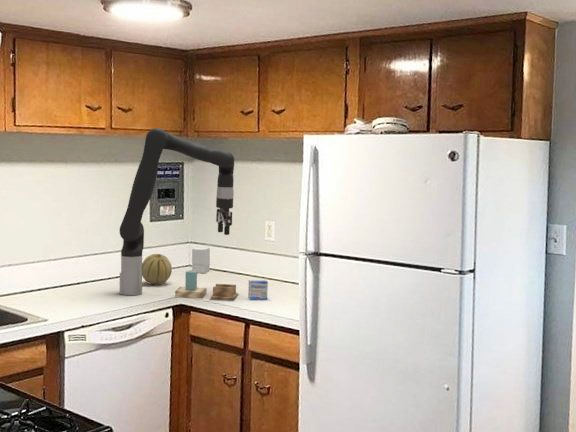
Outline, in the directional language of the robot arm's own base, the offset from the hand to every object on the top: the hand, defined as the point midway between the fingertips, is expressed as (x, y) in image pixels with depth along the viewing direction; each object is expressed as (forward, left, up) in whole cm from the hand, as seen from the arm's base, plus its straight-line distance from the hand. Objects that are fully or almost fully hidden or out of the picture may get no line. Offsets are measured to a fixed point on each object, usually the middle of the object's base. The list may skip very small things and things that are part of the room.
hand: (223, 233), depth 339 cm
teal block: (-13, -4, -25) cm, 29 cm away
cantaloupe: (-35, +20, -28) cm, 49 cm away
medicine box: (+17, -5, -28) cm, 33 cm away
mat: (+2, -4, -28) cm, 28 cm away
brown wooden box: (+2, -4, -28) cm, 28 cm away
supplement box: (-21, +58, -28) cm, 68 cm away
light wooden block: (-13, -4, -28) cm, 31 cm away
